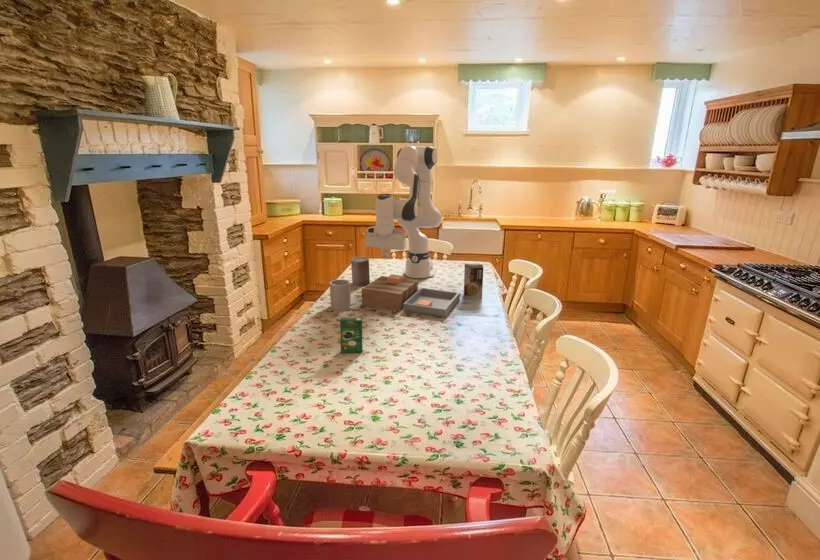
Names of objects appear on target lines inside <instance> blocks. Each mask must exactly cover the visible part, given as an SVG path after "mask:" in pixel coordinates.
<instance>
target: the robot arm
mask: <svg viewBox="0 0 820 560" xmlns="http://www.w3.org/2000/svg"><path fill="white" fill-rule="evenodd" d="M437 160H438V152H437V150H436V148H435V147H434V146H430V145H427V146H426V145H425V146H424V145H422V146H421V145H414V146H412V145H406V146H405V145H404V146H403V147H401V148H399V150H398V151H397V154H396V160H395V163H394V166H393V175H394V177H395V178H396V180H397V181H399V182H400V183H402V184H404V185H406V186H408V187H409V194H408V195H409V196H408V198H407V199H396V198H394V196H393V195H392V194H391V193H382V194H378V195H377V196H376V199H375V207H374V208H375V210H374V211H375V217H376V219H375V220H376V221H375V225H371V226H369V227H367V228H366V231H365V232H366V234H365V238H364V244H365V246H366V247H367V248H374V249H375V248H376V249H379V251H380V253H381V255H382V256H381V257H382V258H389V257H390V253H391V252H392V250H396V251H404V250H405V249H406V248H407V244H406V243H407V241H406V239H407V238H408V253H407V256H408V258H407V259H406V260H405V270H404V271H403V274H404V275H405V276H407V277H408V278H411V279H412V278H413V279H426V278H434V276H435V275H436V273H437V270H438V269H437V268H436V267H434V261H433V260H432V259H431V258H430V253H431V250H430V249H429V238H428V237H427V235H426V234H424V233H422V232H421V231H420V229H421V228H424V229H434V228H439V226H440V225H441V224H442V220H443V216H442V215H443V214H442V212H440V210H439V209H438V208H437V207H436V206H435V205H434V203H433V200H432V193H431V192H432V168H433V167H434V166H435V165H436V163H437ZM395 220H396V222H397V224H398V225H399V226H400V227H402V229H403V230H401V229H399V230H398V229H395ZM406 235H407V238H406ZM384 250H386V252H385V251H384Z"/></svg>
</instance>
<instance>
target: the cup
mask: <svg viewBox="0 0 820 560" xmlns="http://www.w3.org/2000/svg"><path fill="white" fill-rule="evenodd" d="M350 281H351V280H349V279H342V278H341V279H339V278H338V279H333V280H331V281H330V282H329V292H330V293H329V295H330V308H331V310H334V309H335V310H334V311H346V310H348V308H349V309H350V308H351V307H352V305H351V302H352V300H351V282H350ZM345 309H346V310H345Z"/></svg>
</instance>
